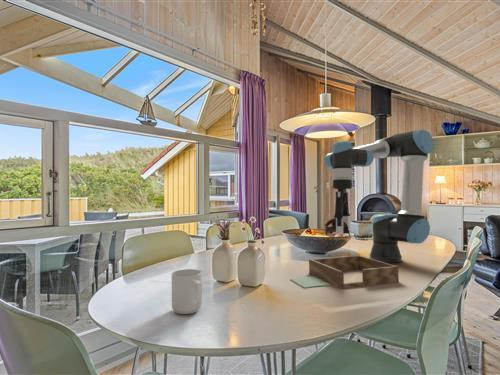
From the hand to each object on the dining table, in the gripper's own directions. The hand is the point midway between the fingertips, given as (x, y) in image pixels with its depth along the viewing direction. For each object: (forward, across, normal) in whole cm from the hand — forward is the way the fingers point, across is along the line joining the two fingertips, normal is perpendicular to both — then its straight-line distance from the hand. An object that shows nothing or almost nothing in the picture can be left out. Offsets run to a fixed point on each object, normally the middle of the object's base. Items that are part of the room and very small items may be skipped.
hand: (342, 233), depth 128 cm
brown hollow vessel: (+2, -3, -1) cm, 4 cm away
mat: (+19, +11, -10) cm, 24 cm away
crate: (+18, -4, +3) cm, 19 cm away
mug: (+20, +56, -35) cm, 68 cm away
